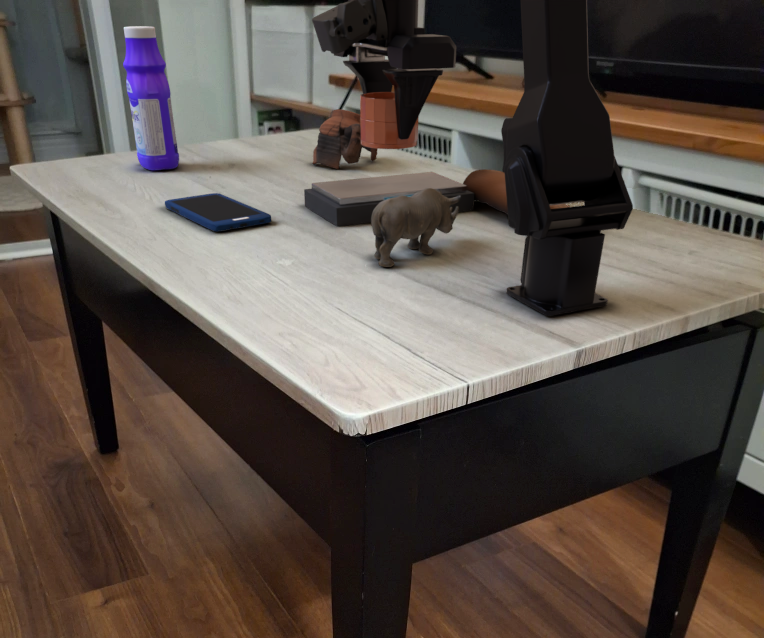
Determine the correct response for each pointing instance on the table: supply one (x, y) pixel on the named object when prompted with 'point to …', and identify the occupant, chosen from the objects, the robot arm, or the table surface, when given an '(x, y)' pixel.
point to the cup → (382, 122)
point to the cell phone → (217, 212)
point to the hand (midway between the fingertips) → (389, 134)
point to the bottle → (149, 100)
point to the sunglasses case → (491, 189)
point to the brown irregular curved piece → (340, 140)
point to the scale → (377, 195)
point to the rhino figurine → (411, 221)
